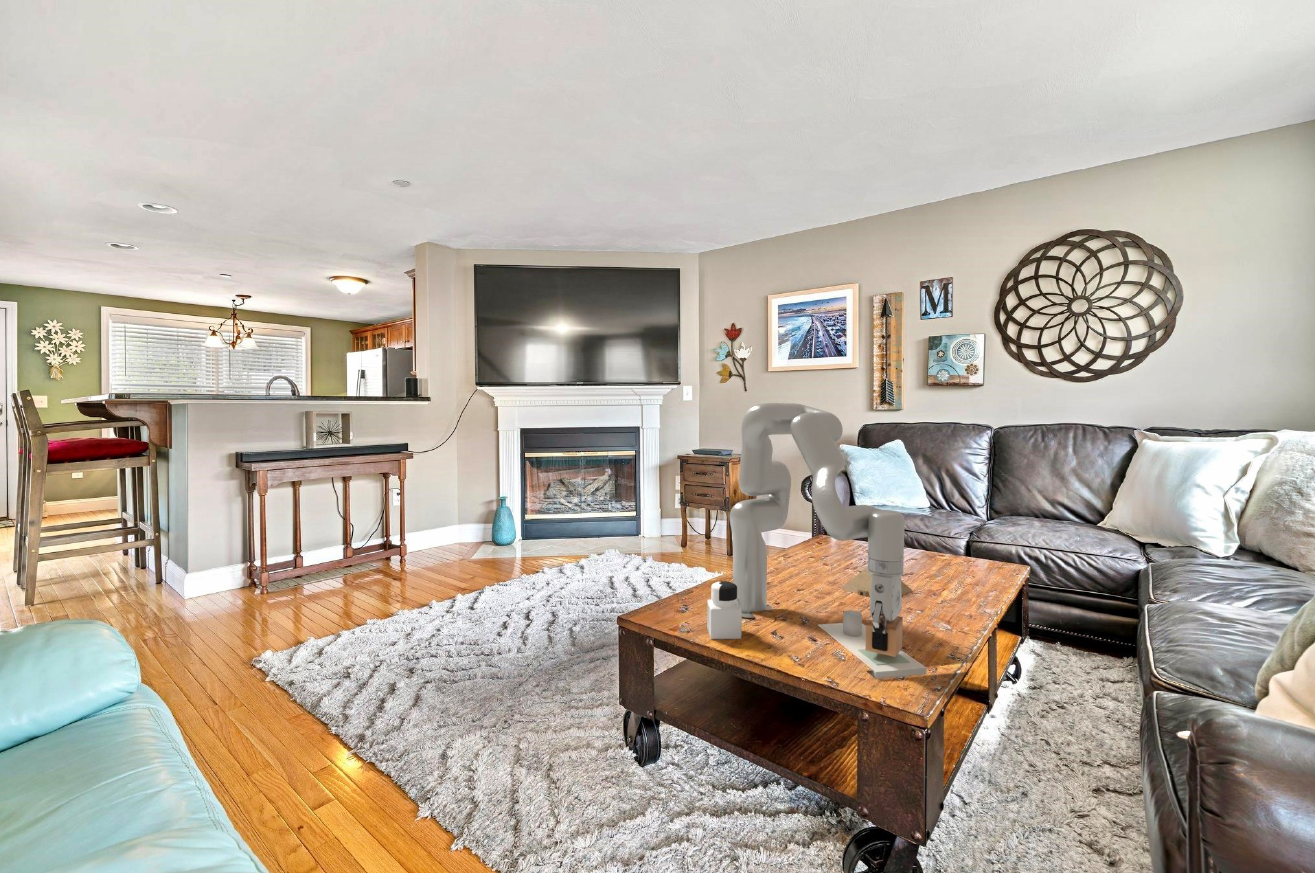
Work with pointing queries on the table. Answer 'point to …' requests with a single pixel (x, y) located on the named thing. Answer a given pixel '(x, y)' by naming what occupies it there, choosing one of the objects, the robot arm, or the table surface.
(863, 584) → the model pyramid
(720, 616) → the container
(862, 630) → the post board
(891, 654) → the brown block
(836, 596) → the table surface
